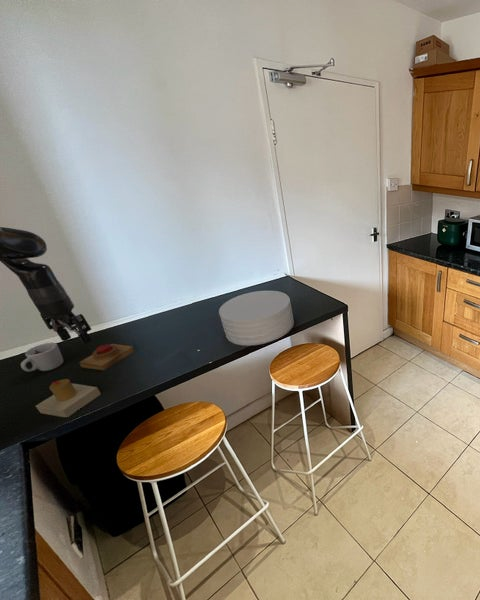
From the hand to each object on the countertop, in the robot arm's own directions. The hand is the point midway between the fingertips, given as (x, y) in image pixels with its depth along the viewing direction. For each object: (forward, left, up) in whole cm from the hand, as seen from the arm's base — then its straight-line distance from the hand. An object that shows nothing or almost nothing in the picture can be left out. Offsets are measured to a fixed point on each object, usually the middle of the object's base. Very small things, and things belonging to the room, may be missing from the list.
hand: (77, 341), depth 103 cm
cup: (0, +22, -15) cm, 27 cm away
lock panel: (-12, -5, -15) cm, 20 cm away
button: (+9, +6, -12) cm, 16 cm away
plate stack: (+40, -38, -15) cm, 57 cm away
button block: (+9, +6, -15) cm, 19 cm away
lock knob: (-12, -5, -12) cm, 18 cm away
